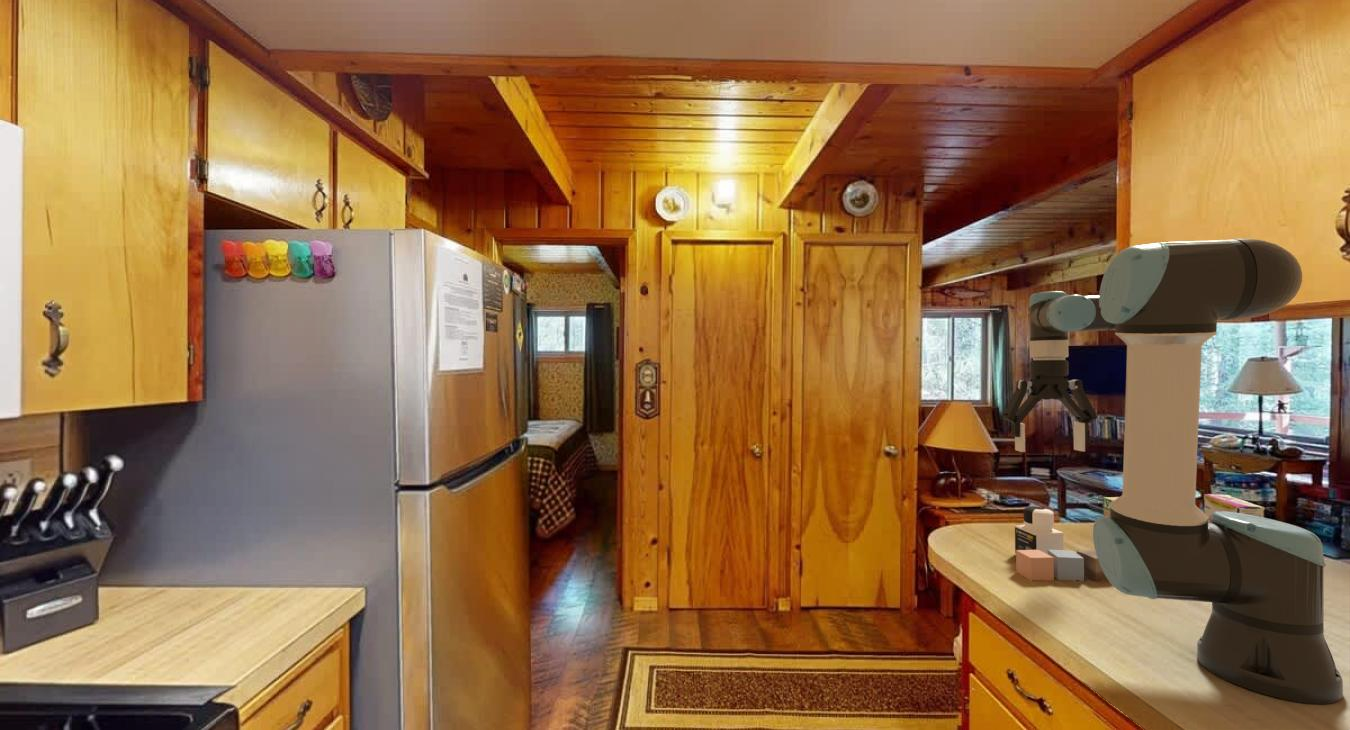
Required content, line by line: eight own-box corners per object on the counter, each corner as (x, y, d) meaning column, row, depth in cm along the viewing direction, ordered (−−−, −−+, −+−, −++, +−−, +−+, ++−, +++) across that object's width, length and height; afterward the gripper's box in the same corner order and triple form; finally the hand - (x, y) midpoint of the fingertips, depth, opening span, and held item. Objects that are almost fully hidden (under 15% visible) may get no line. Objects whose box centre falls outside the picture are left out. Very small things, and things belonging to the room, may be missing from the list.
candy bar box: (1202, 565, 130) (1202, 493, 130) (1228, 567, 129) (1228, 494, 129) (1238, 584, 119) (1237, 505, 119) (1267, 586, 118) (1267, 506, 118)
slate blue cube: (1084, 581, 122) (1083, 558, 122) (1058, 580, 123) (1057, 557, 123) (1072, 573, 127) (1072, 550, 127) (1047, 571, 128) (1047, 549, 128)
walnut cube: (1117, 580, 123) (1117, 557, 123) (1095, 581, 122) (1095, 558, 122) (1097, 572, 128) (1097, 549, 128) (1076, 573, 127) (1076, 550, 127)
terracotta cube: (1053, 580, 123) (1053, 557, 123) (1030, 581, 123) (1030, 557, 123) (1038, 572, 128) (1038, 549, 128) (1016, 572, 128) (1016, 550, 128)
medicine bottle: (1014, 554, 139) (1013, 505, 139) (1041, 553, 140) (1041, 503, 140) (1036, 564, 132) (1035, 512, 132) (1064, 563, 133) (1064, 511, 133)
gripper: (1091, 358, 137) (1092, 447, 137) (985, 360, 137) (986, 448, 137) (1115, 358, 129) (1116, 452, 129) (1003, 359, 130) (1004, 454, 130)
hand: (1049, 451), depth 133 cm, fingers open, 13 cm apart
